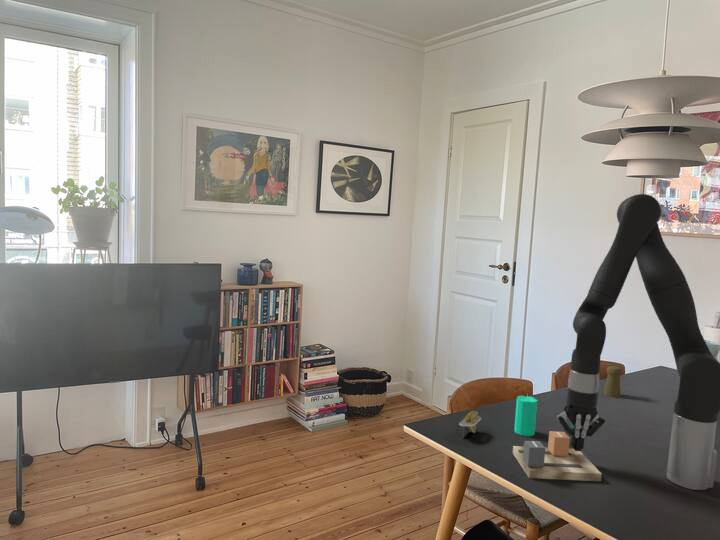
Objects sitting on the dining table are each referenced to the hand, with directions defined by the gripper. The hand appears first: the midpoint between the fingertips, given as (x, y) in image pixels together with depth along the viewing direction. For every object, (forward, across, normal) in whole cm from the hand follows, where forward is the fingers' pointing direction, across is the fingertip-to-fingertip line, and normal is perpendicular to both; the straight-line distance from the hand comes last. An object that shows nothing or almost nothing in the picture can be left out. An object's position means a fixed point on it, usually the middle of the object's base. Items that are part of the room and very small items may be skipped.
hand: (576, 449), depth 142 cm
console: (+3, -7, -4) cm, 9 cm away
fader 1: (+1, -14, -7) cm, 16 cm away
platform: (+4, -26, +15) cm, 30 cm away
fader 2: (+1, -5, 0) cm, 5 cm away
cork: (+3, +38, +58) cm, 70 cm away
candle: (+4, -8, +18) cm, 20 cm away
